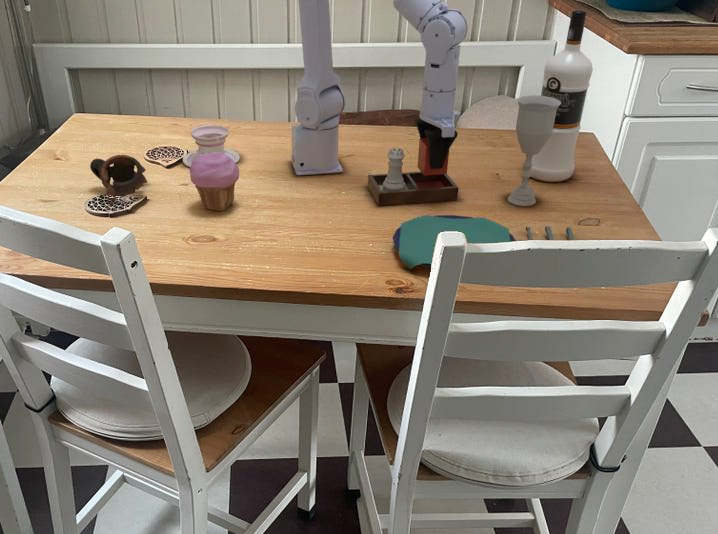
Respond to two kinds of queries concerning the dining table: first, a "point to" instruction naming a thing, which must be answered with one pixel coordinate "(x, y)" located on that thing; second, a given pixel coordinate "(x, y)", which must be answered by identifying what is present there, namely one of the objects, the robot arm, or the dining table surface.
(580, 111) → the vodka
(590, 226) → the dining table surface
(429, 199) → the tray
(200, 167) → the cupcake
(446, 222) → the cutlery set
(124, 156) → the pottery mug
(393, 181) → the rook chess piece
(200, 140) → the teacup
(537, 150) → the chalice
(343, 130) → the dining table surface
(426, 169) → the brick-red block
